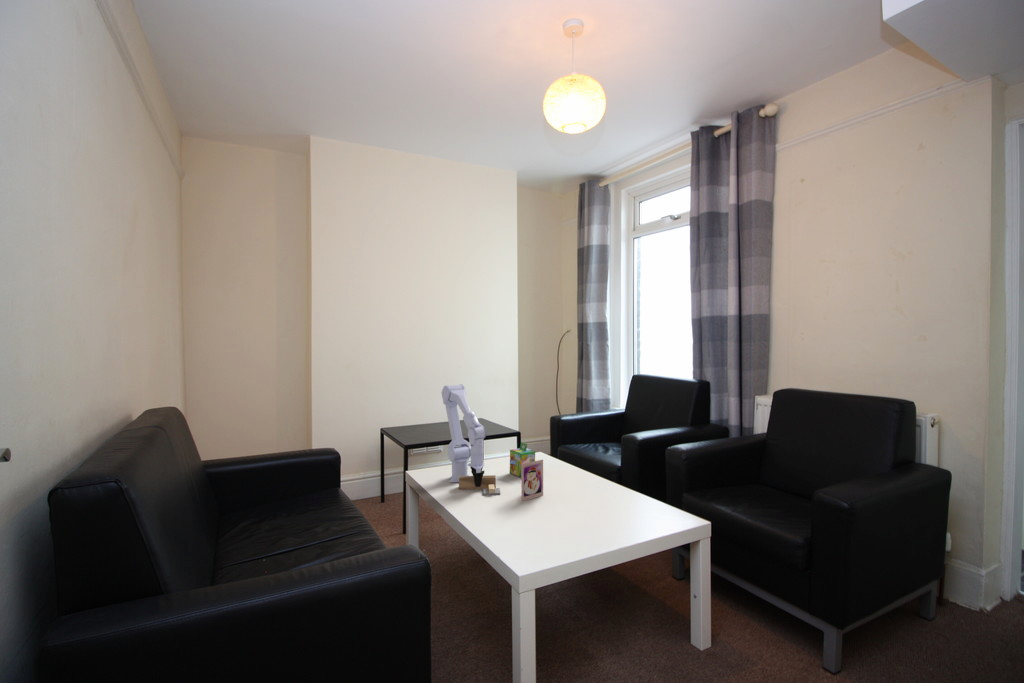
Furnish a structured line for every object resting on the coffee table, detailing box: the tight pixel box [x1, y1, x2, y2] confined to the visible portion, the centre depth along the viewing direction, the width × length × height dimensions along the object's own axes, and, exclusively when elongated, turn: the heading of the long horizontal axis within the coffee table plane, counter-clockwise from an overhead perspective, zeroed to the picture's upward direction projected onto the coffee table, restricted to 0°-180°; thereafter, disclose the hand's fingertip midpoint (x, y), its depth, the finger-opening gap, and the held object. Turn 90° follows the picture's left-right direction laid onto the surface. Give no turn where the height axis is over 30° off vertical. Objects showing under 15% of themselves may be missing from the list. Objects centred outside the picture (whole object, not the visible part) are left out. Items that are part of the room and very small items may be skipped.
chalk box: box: [509, 442, 536, 478], centre depth 225 cm, size 9×9×15 cm
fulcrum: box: [482, 484, 501, 496], centre depth 199 cm, size 6×7×2 cm
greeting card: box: [520, 457, 544, 502], centre depth 194 cm, size 11×7×15 cm, turn 126°
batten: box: [458, 474, 497, 490], centre depth 205 cm, size 4×16×5 cm, turn 94°
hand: (477, 484), depth 205 cm, fingers open, 5 cm apart
